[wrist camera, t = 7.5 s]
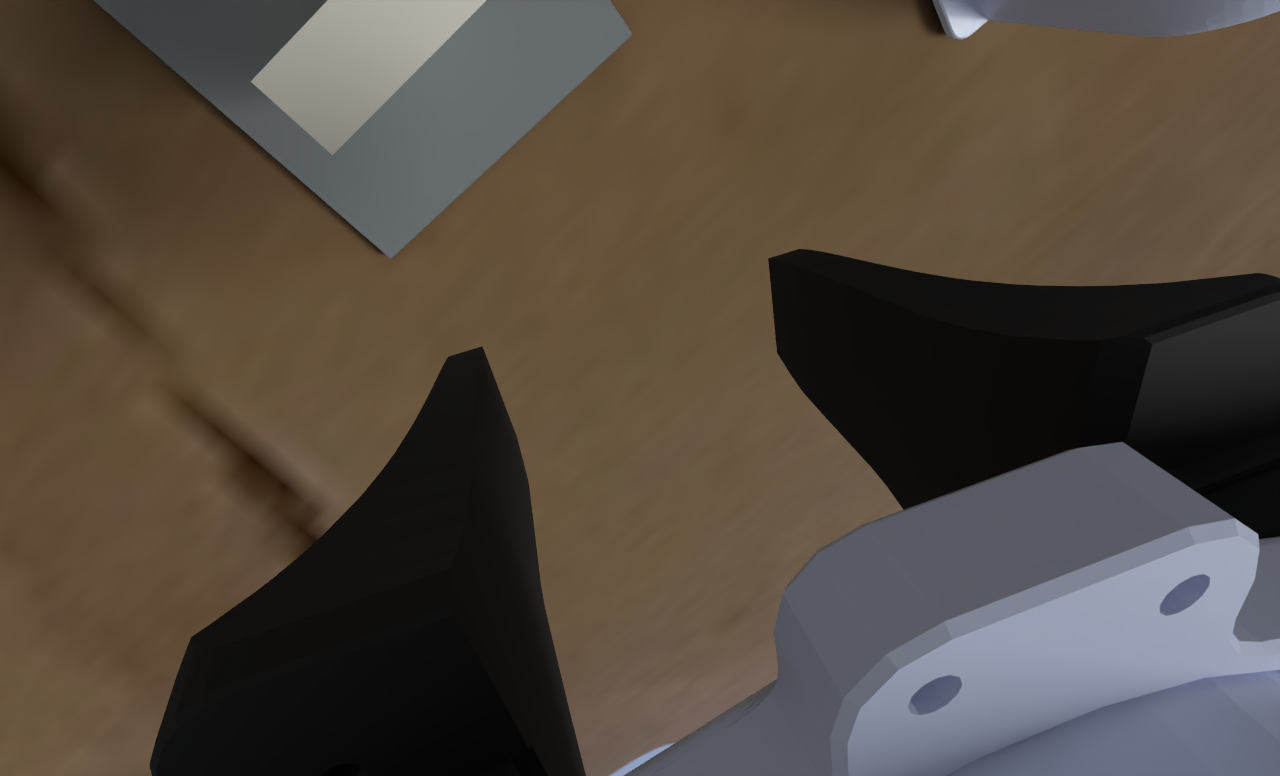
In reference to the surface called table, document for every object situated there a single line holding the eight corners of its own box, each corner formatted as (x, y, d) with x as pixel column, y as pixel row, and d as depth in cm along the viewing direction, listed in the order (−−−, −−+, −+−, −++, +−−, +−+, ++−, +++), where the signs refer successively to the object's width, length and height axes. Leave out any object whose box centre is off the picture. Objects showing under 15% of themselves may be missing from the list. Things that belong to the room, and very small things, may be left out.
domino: (471, -17, 17) (494, -8, 12) (356, 99, 17) (332, 155, 12) (418, -80, 16) (421, -99, 11) (300, 45, 16) (251, 81, 11)
